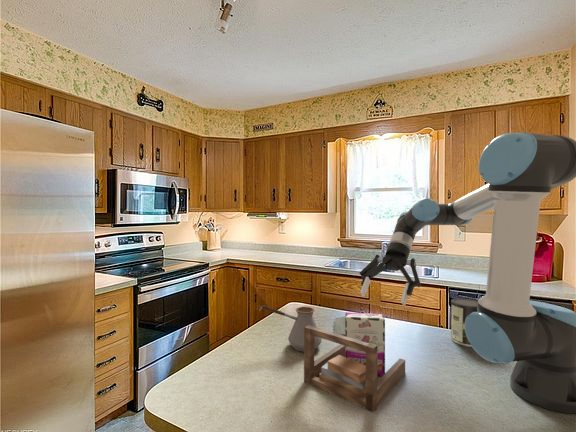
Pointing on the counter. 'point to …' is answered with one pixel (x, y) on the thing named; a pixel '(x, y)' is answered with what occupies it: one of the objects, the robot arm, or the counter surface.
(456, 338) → the coffee can
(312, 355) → the offcut rack
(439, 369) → the counter surface
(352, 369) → the offcut stack
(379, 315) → the candy bar box
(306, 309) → the coffee pot
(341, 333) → the stone slab
